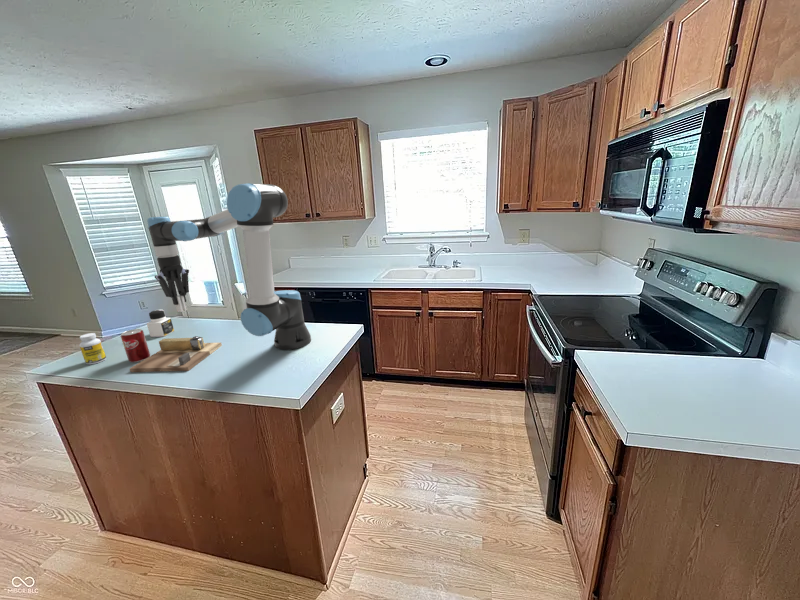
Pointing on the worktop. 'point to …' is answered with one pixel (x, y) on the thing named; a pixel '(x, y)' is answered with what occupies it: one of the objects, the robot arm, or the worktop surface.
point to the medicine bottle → (159, 324)
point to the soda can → (135, 345)
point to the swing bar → (182, 343)
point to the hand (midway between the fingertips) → (182, 310)
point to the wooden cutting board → (175, 359)
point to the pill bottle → (92, 349)
